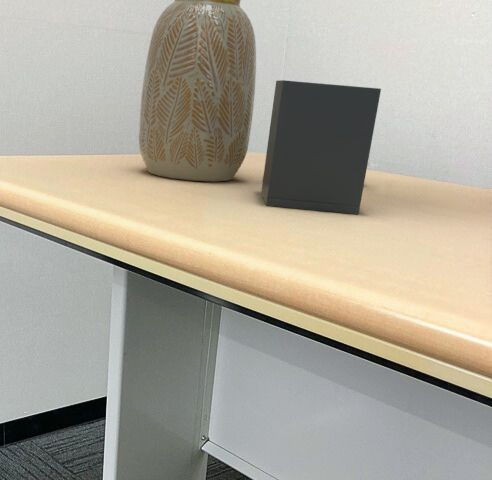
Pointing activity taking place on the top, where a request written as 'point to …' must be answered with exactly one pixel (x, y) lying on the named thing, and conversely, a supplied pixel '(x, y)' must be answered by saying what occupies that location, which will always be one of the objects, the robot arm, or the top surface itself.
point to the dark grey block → (319, 146)
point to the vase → (198, 91)
